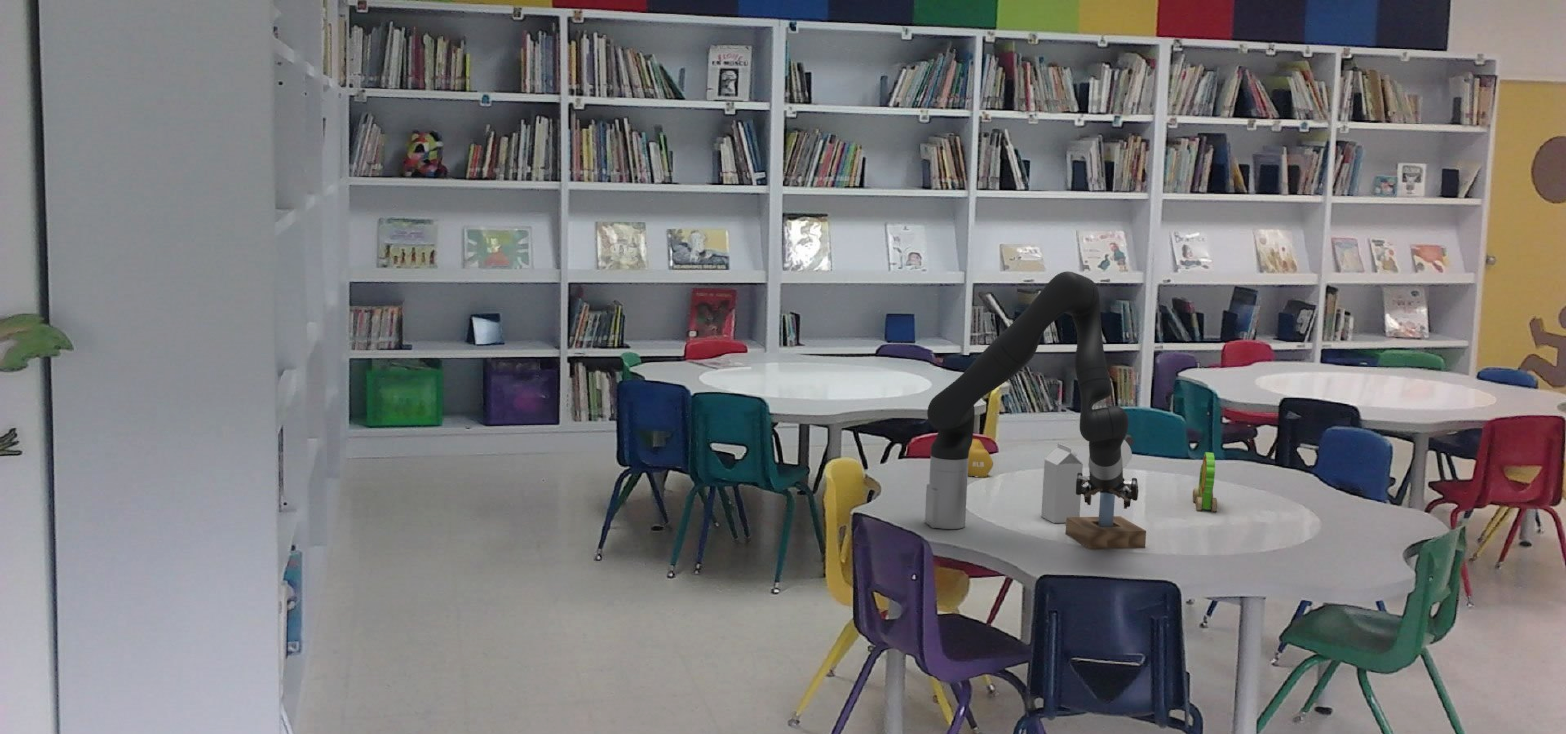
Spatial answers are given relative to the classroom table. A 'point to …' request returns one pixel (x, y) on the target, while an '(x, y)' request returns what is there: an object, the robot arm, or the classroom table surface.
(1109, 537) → the socket
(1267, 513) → the classroom table surface
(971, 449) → the dumbbell
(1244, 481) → the classroom table surface
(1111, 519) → the peg
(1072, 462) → the milk carton
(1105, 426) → the robot arm
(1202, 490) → the toy lion
